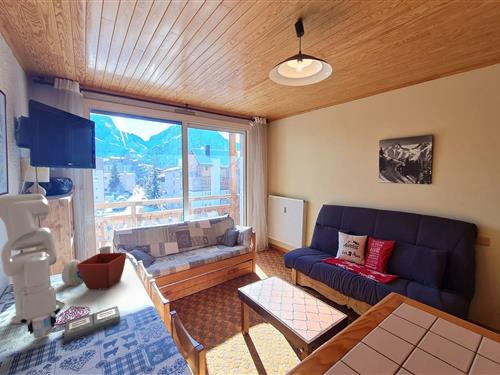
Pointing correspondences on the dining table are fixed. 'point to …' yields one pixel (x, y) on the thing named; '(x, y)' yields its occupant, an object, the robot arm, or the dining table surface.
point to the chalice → (104, 249)
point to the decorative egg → (71, 273)
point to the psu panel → (91, 323)
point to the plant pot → (102, 270)
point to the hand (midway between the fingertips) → (42, 328)
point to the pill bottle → (42, 326)
